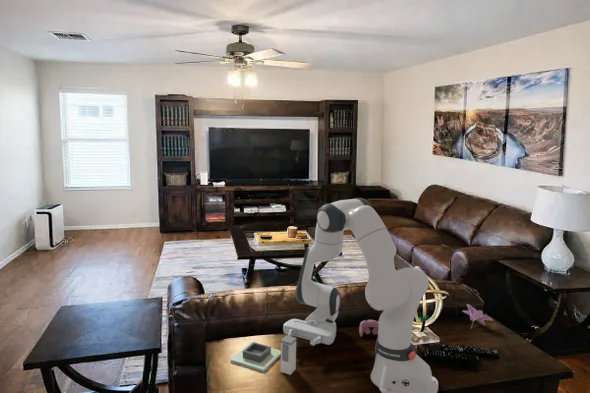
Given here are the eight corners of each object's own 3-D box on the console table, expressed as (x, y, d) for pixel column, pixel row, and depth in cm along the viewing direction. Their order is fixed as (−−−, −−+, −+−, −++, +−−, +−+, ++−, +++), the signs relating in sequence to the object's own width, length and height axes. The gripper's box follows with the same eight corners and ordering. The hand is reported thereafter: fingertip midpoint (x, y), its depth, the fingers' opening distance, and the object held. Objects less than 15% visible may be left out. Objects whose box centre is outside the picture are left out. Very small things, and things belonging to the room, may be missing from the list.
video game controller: (382, 338, 191) (383, 320, 193) (384, 338, 187) (384, 320, 189) (358, 336, 192) (359, 319, 194) (359, 336, 188) (359, 318, 190)
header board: (282, 353, 175) (282, 345, 174) (263, 372, 163) (263, 363, 162) (250, 344, 181) (250, 336, 180) (230, 361, 169) (230, 353, 168)
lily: (494, 335, 194) (498, 312, 197) (472, 327, 191) (477, 305, 193) (473, 331, 205) (477, 309, 208) (452, 324, 202) (457, 302, 204)
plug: (295, 369, 165) (296, 337, 163) (289, 375, 161) (290, 343, 158) (285, 366, 167) (286, 335, 164) (279, 372, 163) (279, 341, 160)
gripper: (292, 312, 187) (275, 326, 175) (339, 323, 178) (325, 339, 166) (292, 326, 188) (275, 341, 176) (339, 338, 179) (325, 355, 167)
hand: (300, 340), depth 171 cm, fingers open, 8 cm apart
